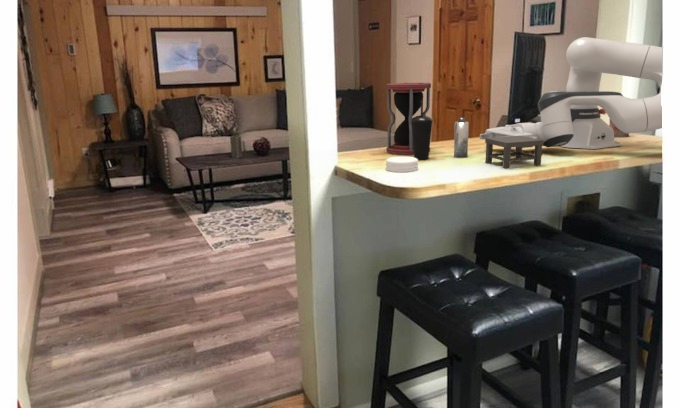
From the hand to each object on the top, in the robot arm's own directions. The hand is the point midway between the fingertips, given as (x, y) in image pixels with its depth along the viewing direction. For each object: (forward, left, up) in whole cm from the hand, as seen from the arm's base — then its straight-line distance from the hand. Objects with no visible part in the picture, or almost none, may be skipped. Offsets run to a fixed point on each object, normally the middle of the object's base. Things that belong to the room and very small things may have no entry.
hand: (487, 138), depth 182 cm
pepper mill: (+10, -1, -6) cm, 12 cm away
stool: (+2, +18, -6) cm, 19 cm away
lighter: (-70, -15, -6) cm, 72 cm away
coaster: (+37, +11, -6) cm, 39 cm away
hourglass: (+22, -19, -6) cm, 30 cm away
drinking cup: (+24, -3, -6) cm, 25 cm away
